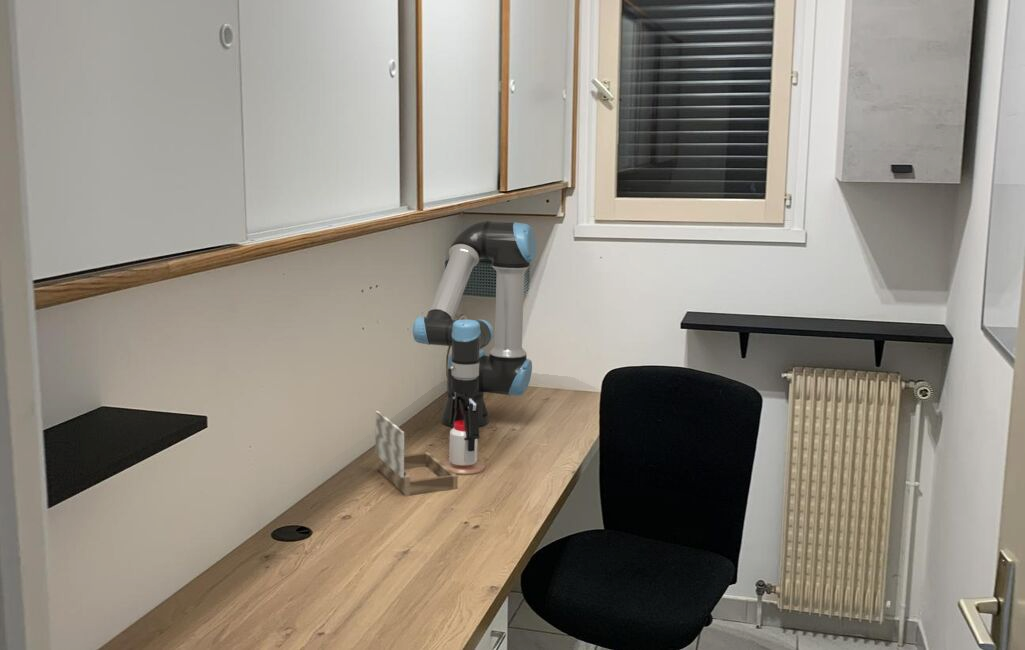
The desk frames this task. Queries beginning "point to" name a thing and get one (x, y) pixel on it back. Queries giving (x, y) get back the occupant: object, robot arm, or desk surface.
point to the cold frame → (408, 462)
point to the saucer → (465, 468)
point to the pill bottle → (459, 444)
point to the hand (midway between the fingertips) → (463, 456)
